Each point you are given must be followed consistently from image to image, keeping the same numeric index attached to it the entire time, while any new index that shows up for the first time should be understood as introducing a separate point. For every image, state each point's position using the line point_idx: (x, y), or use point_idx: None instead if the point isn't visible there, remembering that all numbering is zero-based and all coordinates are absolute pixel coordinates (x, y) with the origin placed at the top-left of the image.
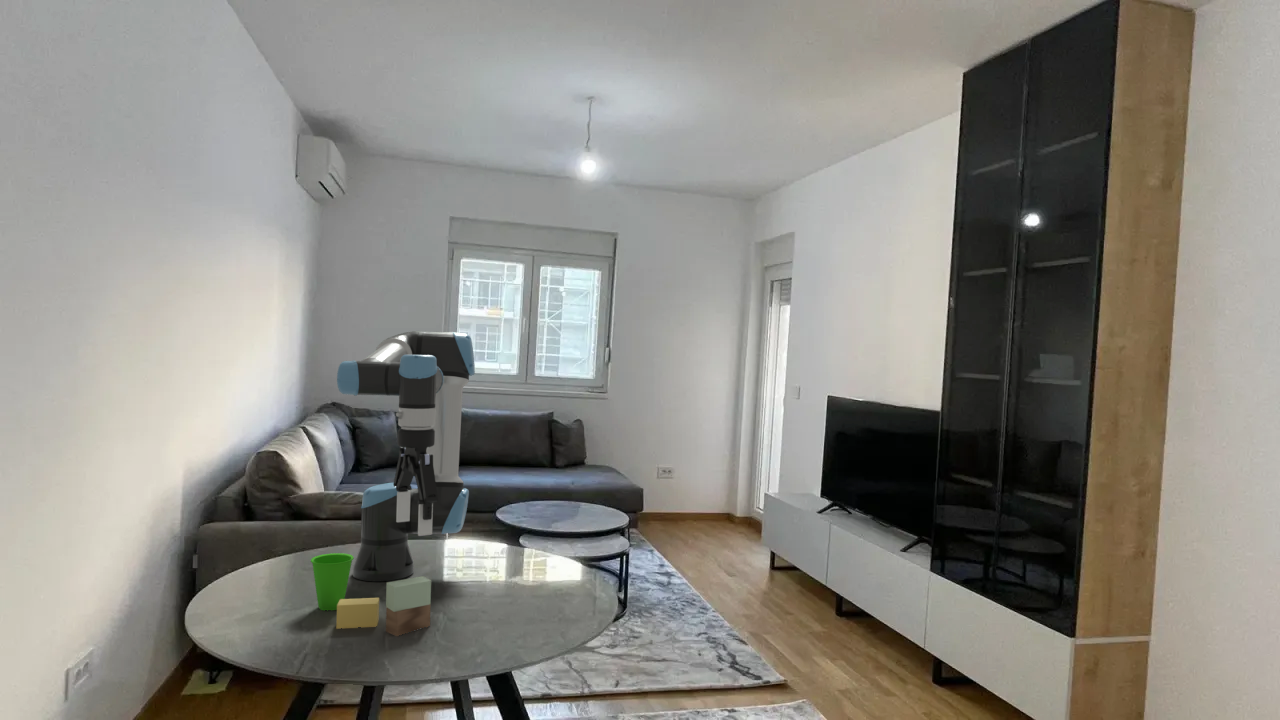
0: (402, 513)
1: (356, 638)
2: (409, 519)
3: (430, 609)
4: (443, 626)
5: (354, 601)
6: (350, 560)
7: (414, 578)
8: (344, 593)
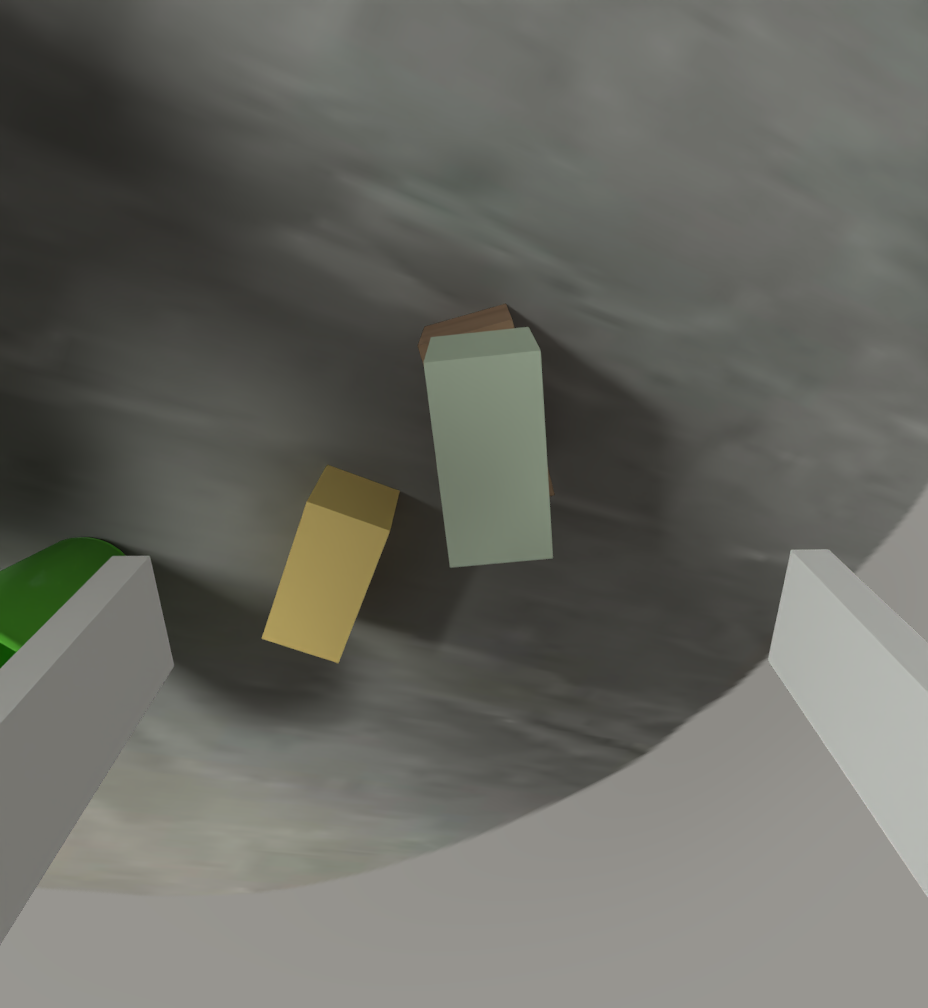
0: (125, 680)
1: (485, 579)
2: (145, 567)
3: (509, 314)
4: (539, 249)
5: (316, 600)
6: (18, 644)
7: (447, 421)
8: (88, 566)
